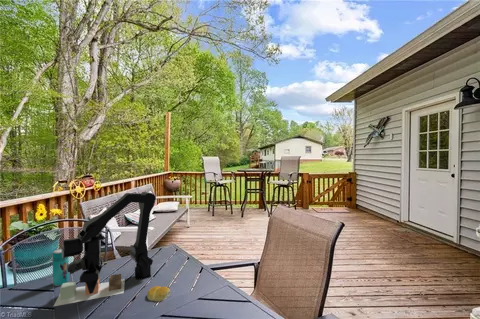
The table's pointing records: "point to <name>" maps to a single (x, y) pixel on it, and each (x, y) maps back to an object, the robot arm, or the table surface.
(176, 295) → the table surface
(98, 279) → the terracotta block
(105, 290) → the white mat
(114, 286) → the walnut block
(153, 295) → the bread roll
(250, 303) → the table surface
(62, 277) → the beverage can
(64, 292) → the sage block
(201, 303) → the table surface
